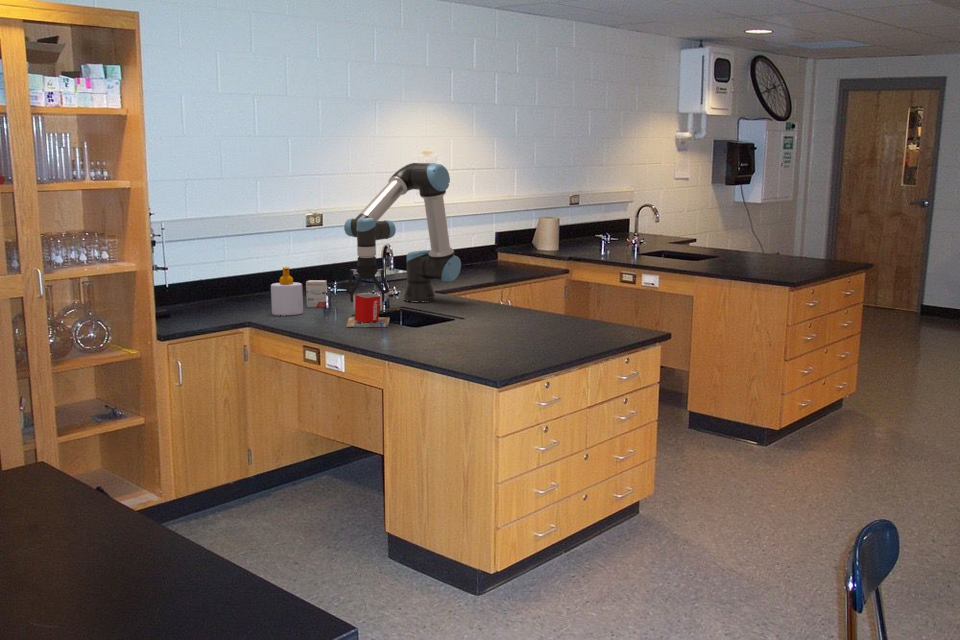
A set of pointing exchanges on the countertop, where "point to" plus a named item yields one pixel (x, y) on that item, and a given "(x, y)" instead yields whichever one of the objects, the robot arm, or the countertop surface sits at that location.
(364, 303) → the mug
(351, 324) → the coaster board
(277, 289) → the soap bottle
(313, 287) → the ink box
